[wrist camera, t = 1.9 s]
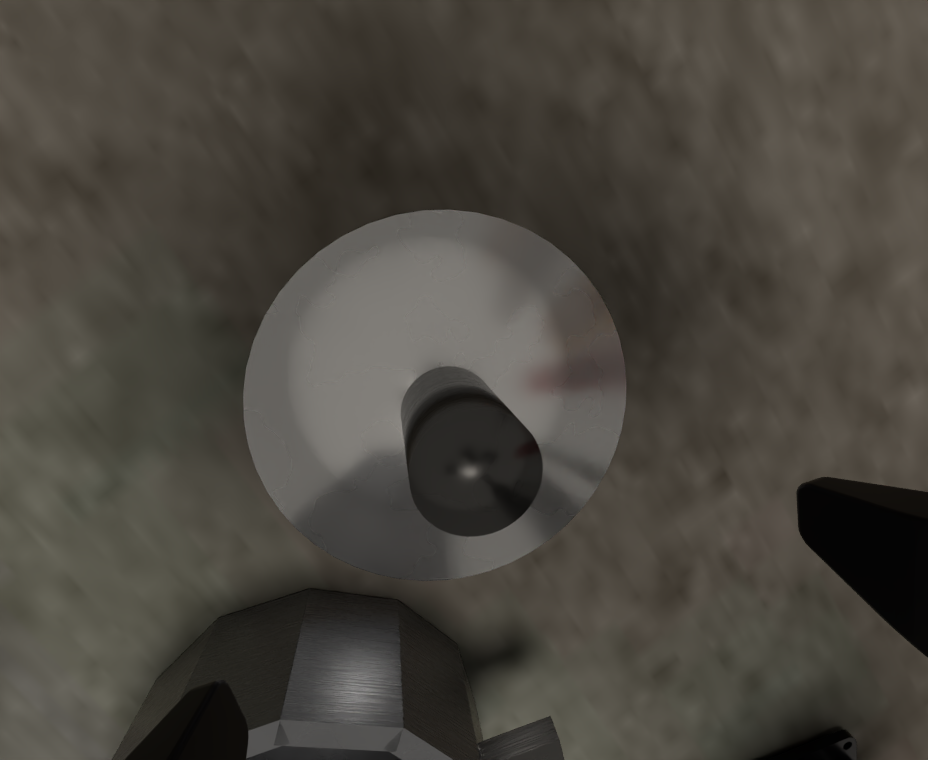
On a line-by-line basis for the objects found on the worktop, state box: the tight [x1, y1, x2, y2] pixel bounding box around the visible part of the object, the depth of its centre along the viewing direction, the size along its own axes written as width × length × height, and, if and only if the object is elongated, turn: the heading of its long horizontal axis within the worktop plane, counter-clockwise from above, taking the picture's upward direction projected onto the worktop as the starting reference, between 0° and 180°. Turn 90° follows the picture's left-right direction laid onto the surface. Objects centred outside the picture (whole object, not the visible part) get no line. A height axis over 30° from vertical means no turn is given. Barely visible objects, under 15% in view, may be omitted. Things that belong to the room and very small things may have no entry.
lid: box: [243, 210, 626, 581], centre depth 13 cm, size 13×13×6 cm
